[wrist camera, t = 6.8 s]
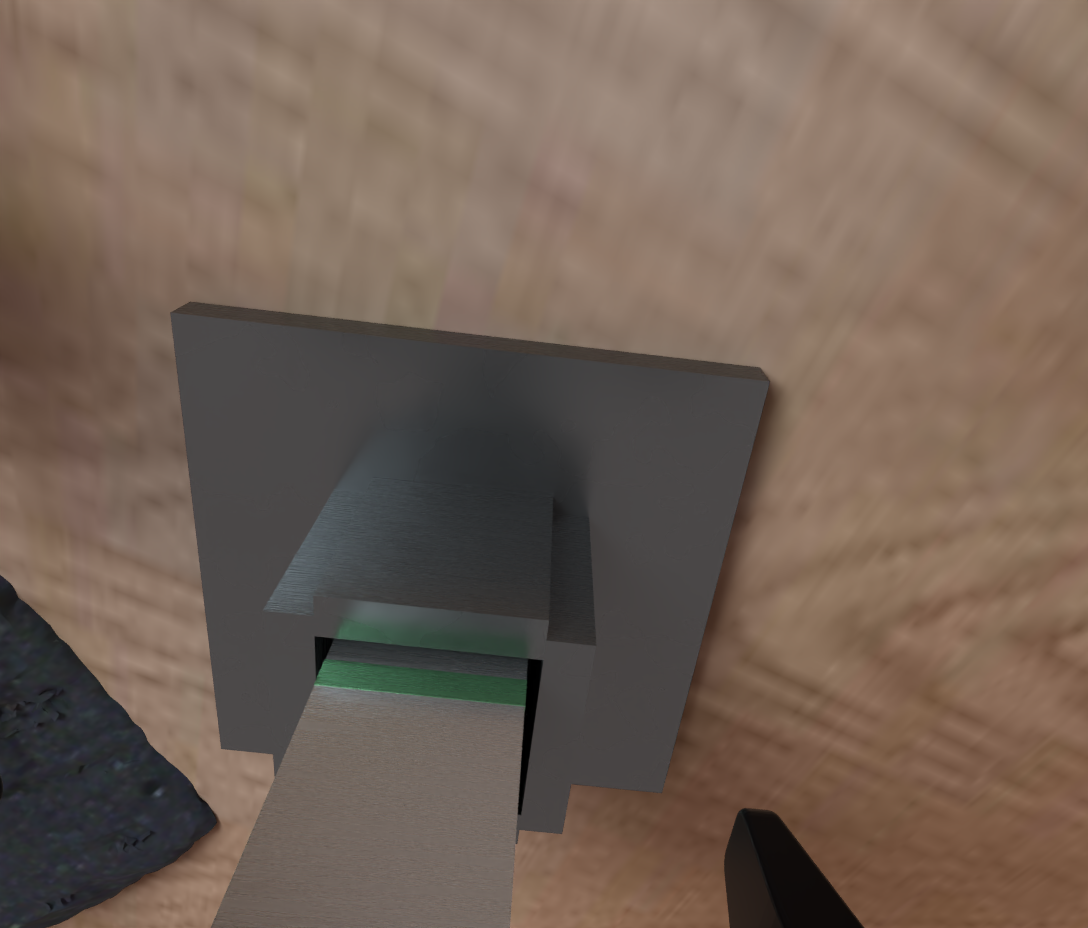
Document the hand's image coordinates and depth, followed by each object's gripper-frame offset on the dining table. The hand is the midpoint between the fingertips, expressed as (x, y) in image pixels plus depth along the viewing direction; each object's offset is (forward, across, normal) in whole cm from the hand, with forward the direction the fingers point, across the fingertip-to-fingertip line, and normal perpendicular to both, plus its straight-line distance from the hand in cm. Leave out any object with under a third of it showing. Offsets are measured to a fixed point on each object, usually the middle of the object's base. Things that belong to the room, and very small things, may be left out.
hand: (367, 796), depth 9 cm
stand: (+11, 0, +5) cm, 12 cm away
